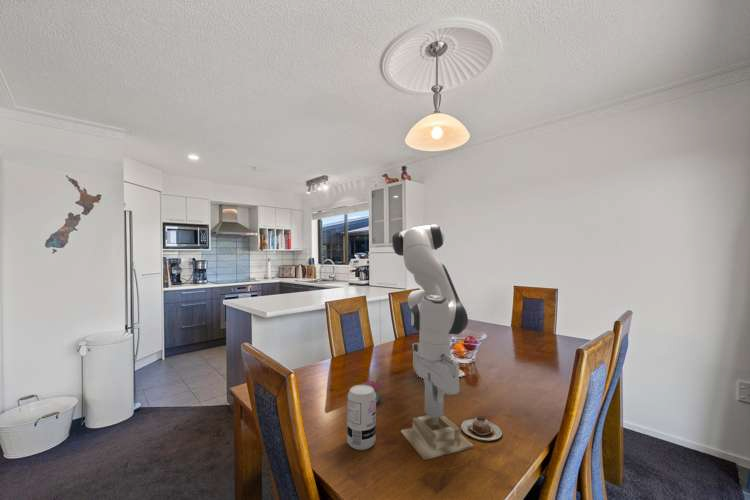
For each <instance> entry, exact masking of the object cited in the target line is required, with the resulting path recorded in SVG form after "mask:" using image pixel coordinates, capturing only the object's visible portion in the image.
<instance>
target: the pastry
mask: <svg viewBox="0 0 750 500" xmlns="http://www.w3.org/2000/svg"><path fill="white" fill-rule="evenodd" d="M469 429H470V430H471V431H472V432H473V433H475V434H477V435H479V436H480V437H479V436H477V435H476V436H475V435H473V434H472V433H471V432H470V431H469ZM460 430H461V431H462V432H463V433H464V434H465V435H466V436H469V437H471V438H472V439H475V440H477V441H481V442H490V441H496V440H498V439H500V438H501V437H502V434H503V432H502V429H501V428H500V427H499V426H498V425H496V424H495V423H493V422H491V421H488V419H486V416H485V415H481V414H479V415H477V416H476V417H475V418H472V419H471V418H470V419H466V420H464V421H463V422H462V423H461V424H460ZM491 433H494V435H493V436H491V437H487V438H486V437H481V436H487V435H489V434H491Z"/></svg>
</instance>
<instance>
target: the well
mask: <svg viewBox="0 0 750 500" xmlns="http://www.w3.org/2000/svg"><path fill="white" fill-rule="evenodd" d="M400 433H401V435H403V437H404V438H405V439H406V441H407V442H408V443H409V445H411V446H412V447H413V449H414V450H415V451H416V452H417V454H418V455H419V456H420V457H421V459H422V460H423V461H426V460H429V459H435V458H437V457H441V456H445V455H449V454H453V453H457V452H462V451H465V450H470V449H473V448H474V447H475V446H474V444H473V443H472V442H470V440H468V439H467V438H466V437H464V436H463V434H462V433H461V427H458V426H457V424H456V423H454V422H453V421H451V420H450V419H449V418H448V417H446V415H444V416H442V417H436V418H431V417H430V416H428V415H427V414H426V415H423V416H418V417H413V418H412V427H409V428H405V429H400Z"/></svg>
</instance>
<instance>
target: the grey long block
mask: <svg viewBox="0 0 750 500" xmlns="http://www.w3.org/2000/svg"><path fill="white" fill-rule="evenodd" d="M437 394H438V391H437V387H436V386H434V385H433V382H431V381H430V373H427V378H425V383H424V413H425V414H426V416H427V415H428V416H430V417H431V418H436V417H442V416H445V415H444V409H445V408H444V404H445V402H444V401H445V400H444V401H443V403H438V402H437V401H436V395H437Z"/></svg>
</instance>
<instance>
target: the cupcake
mask: <svg viewBox="0 0 750 500" xmlns="http://www.w3.org/2000/svg"><path fill="white" fill-rule="evenodd" d="M377 375H378V370H375V373H374V380H366V381H365V382H363V383H362V384H361V385H369V386H371V387H373V388H374V391H375V393H376V403H378V402H379V399H380V396H381V394H382V393H383V392H384V386H383V384H382V383H380V382H379V380H378V381H377V377H378V376H377Z"/></svg>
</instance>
